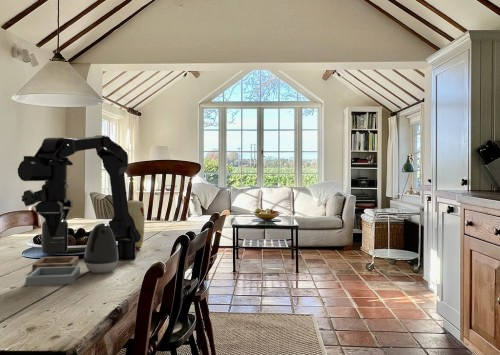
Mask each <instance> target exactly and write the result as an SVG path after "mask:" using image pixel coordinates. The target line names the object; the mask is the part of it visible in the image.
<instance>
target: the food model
mask: <svg viewBox="0 0 500 355" xmlns="http://www.w3.org/2000/svg"><path fill="white" fill-rule="evenodd" d="M127 202H128V211H129V214H130V215H131V217H132V218H133V219H134V222H135V227H136V229H137V230H138V232H139V233H140V235H141V239H140V241H139V242H136V251H137V250H138V251H139V250H140V249H141V248H142V246H143V242H144V237H145V236H144V235H145V208H144V207H145V206H144V202H143V201H142V200H141V201H140V200H134V199H133V200H127Z"/></svg>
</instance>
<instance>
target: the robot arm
mask: <svg viewBox="0 0 500 355" xmlns="http://www.w3.org/2000/svg"><path fill="white" fill-rule="evenodd" d="M93 149H95V150H96V151H95V153H96V155H97V156H98V157H99V159H100V160H101V162H102V165H103V168H104V170H105V171H106V172H107V174H108V175H109V183H110V190H111V199H112V208H113V216H112V219H110V220H108V225H109V226H110V228H111V229H112V231H113V233H114V236H115V239H116V243H117V248H118V254H119V260H118V261H124V260H125V261H127V260H132V261H133V260H136V258H137V253H136V251H137V250H136V242H139V241H140V239H141V235H140V233H139V232H138V230H137V229H136V227H135V222H134V219H133V218H132V217H131V215H130V214H129V211H128V202H127V201H128V196H127V186H126V177H125V173H126V171H127V169H128V166H129V155H128V153H127V151H126V150H125V149H124V148H123V147H122V146H121V145H119V144H118V143H116V142H114V141H113V140H112V139H111V138H110V137H109V136H108V135H105V134H103V135H101V134H100V135H94V136H88V137H78V138H71V137H70V138H69V137H46V138H44V139H43V140H42V143H41V146H40V147H39V148H38V150H37V151H36V153H35V154H34V156H33V155H24V156H23V160H21V162H20V163H19V165H18V167H17V176H18V177H19V179H20V180H21V181H23V182H44V184H42V186H41V189H40V190H37V191H33V190H32V189H27V190H25V191H23V195H21V202H23V203H24V206H25V207H29V206H33V205H35V213H38V215H39V216H41V217H42V218H44V221H46V224H47V227H48V231H49V235H50V237H54V236H55V234H56V231H57V228H58V226H59V223H60V221H61V218H62V215H63V213H64V216H65V217H64V220H66V221H67V218H68V216H69V214H70V211H71V208H73V202H74V201H73V200H72V198H70V197H67V193H68V192H67V190H68V188H69V184H67V183H68V181H67V178H68V177H67V176H68V173H67V172H68V166H73V165H74V163H73V162H72V161H71V160H69V156H72V155H74V154H76V153H77V152H81V151H86V150H87V151H88V150H93ZM62 211H64V212H62Z"/></svg>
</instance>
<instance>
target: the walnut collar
mask: <svg viewBox="0 0 500 355" xmlns="http://www.w3.org/2000/svg"><path fill="white" fill-rule="evenodd" d="M79 261H80V260H79V256H78V255H77V256H76V255H75V256H74V255H72V256H42V257H40V258H39V259H37V260H36V261H35V262H33V264H31V265H32V267H31V268H32V269H31V273H32V272H33V271H34V270H36V269H37V268H41V267H72V266H79V264H80V263H79Z"/></svg>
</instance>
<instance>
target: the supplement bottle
mask: <svg viewBox="0 0 500 355" xmlns="http://www.w3.org/2000/svg"><path fill="white" fill-rule="evenodd" d="M62 212H64V211H62ZM64 217H65V216H64V213H63V215H62V218H61V221H60V223H59V226H58V228H57V231H56V234H55V236H54V237H50V235H49V231H48V227H47V224H46V220H44V221H43V222H42V223H41V224H42V225H41V253H42V254H44V255H57V254H64V253H67V252H68V242H69V238H68V237H69V232H68V231H69V223H68V221H67V219H66V220H64Z"/></svg>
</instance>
